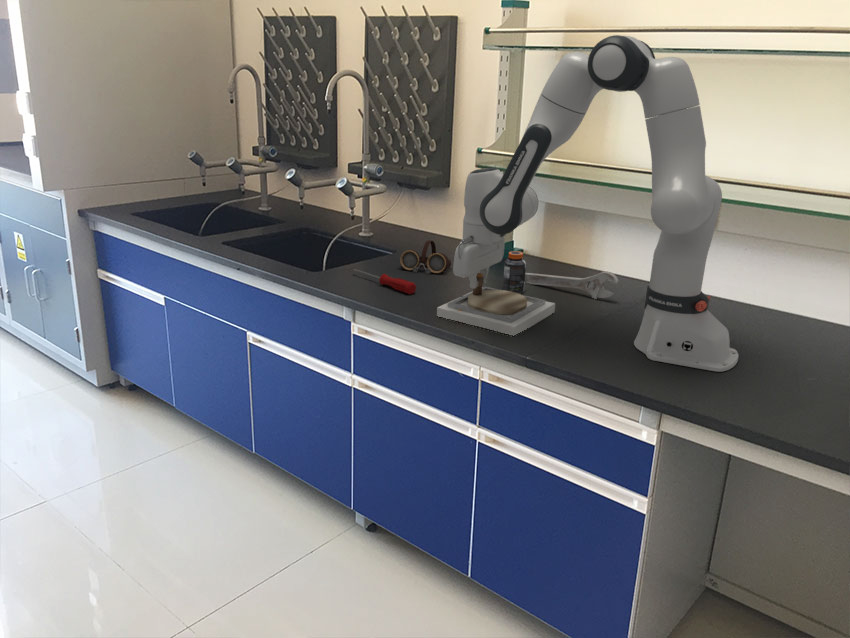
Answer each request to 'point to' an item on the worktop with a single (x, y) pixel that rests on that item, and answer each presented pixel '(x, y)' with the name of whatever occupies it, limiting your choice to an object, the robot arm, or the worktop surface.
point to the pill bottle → (514, 272)
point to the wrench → (577, 282)
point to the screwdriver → (394, 283)
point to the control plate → (497, 322)
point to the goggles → (425, 260)
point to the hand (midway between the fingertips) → (477, 285)
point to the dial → (496, 299)
